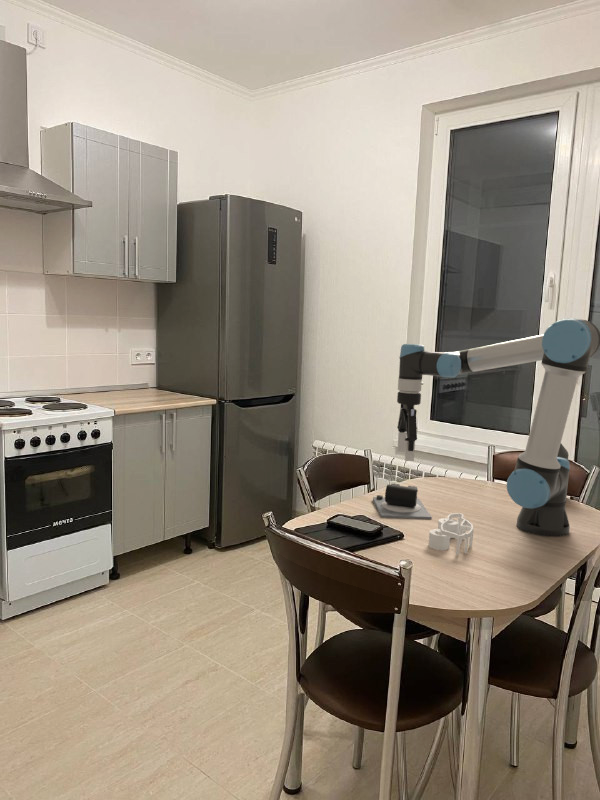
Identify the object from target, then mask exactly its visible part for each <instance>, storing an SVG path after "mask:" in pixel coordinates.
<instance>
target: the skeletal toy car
mask: <svg viewBox="0 0 600 800" xmlns="http://www.w3.org/2000/svg"><path fill="white" fill-rule="evenodd" d="M454 518H457V519H454ZM437 523H438V524H437V525H438V526H437V528H432V529H430V530H429V533H428V534H429V535H428V548H430V549H432V548H433V549H432V550H435V549H436V550H437V551H447V549H448V550H449V549H450V545H451V544H450V542H451V539H456V547H455V548H456V551H455V556H456V555H460V550H461V549H460V546H462V540H463V541H464V550H463V553H464V554H466V553H467V554H468V550H469V549H468V547H469V548H473V537H474V528H475V527H474V524H473V523H471V522H470V521H469V520H468V519H466V518H464V514H463V513H461V512H453V513H450V514H448V515H447V516H446V517H445V518H443V517H442V518H439V519H438V522H437ZM467 531H468V532H467Z"/></svg>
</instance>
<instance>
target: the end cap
mask: <svg viewBox="0 0 600 800" xmlns="http://www.w3.org/2000/svg"><path fill="white" fill-rule="evenodd" d="M418 491H419V490H418V487H417V486H415V485H407V486H403V485H400V484H399V483H391V484H387V485H386V488H385V493H384V497H385V502H386V503H387V504H390V505H397V506H405V507H412V508H415V506H416V502H417V499H418Z"/></svg>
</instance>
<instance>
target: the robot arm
mask: <svg viewBox="0 0 600 800" xmlns="http://www.w3.org/2000/svg"><path fill="white" fill-rule="evenodd" d="M599 349H600V328H598V327H597V325H595V324H594V323H593V322H592V321H589V320H586V319H581V318H579V319H578V318H570V317H567V318H562V319H559V320H557V321H555V322H552V323H551V324H550V325H549V326H548V327H547V328H546V330H545V331H544V332H543V334H540V335H534V336H529V337H525V338H519V339H514V340H509V341H508V340H507V341H504V342H498V343H494V344H490V345H483V346H480V347H474V348H469V349H463V350H457V351H448V352H447V351H445V352H444V351H443V352H442V351H440V352H439V351H427V350H425V345H424V344H417V343H416V344H415V343H404V344H402V345H401V347H400V353H399V354H400V355H399V357H398V358H399V369H398V370H399V371H398V381H397V390H398V392H397V396H396V397H397V398H396V399H397V400H396V402H397V404H400V410H399V414H398V415H399V416H398V422H397V431H398V433H397V434H398V435H397V450H396V451H397V452H401V453H402V452H404V461H407V462H409V461H410V462H414V461H415V448H416V441H417V440H418V429H417V427H418V426H417V412H418V411H417V409H415V407H414V406H419V405H420V404H421V402H422V401H421V400H422V393H421V391H422V386H423V385H424V382H423V376H431V377H432V376H433V377H441V378H455V377H458V376H461V375H466V374H471V373H473V372H474V373H475V372H481V371H486V370H491V369H499V368H503V367H511V366H516V365H522V364H527V363H533V362H538V361H541V366H542V367H543V368H544V375H543V379H542V383H541V386H540V391H539V395H538V398H537V403H536V406H535V410H534V414H533V419H532V422H531V427H530V430H529V431H530V432H529V434H528V439H527V443H526V446H525V450H524V451H523V452H521V453H519V454H518V456H517V459H516V464H515V467H514V470H513V471H512V472H511V473H510V475H509V476H508V478H507V480H506V490H507V494H508V496H509V497H510V498H511V500H512V501H513V502H514V504H516V505H518V506H520V507H521V509H520V511H519V513H518V515H517V519H516V527H517V528H518V529H520V530H521V531H523V532H526V533H528V534H532V535H535V536H540V537H541V536H542V537H553V538H554V537H555V538H557V537H560V538H561V537H566V536H567V535H568V536H569V534H570V523H569V518H568V514H567V513H568V512H567V509H566V505H567V504H566V503H567V495H568V486H569V485H568V484H569V479H570V478H569V476H570V471H571V468H570V461H569V459H568V460H567V459H565V458H561V457H557V455H558V452H559V448H560V444H562V440H563V436H564V432H565V429H566V424H567V421H568V417H569V413H570V409H571V406H572V402H573V398H574V393H575V391H576V386H577V382H578V379H579V377H581V376H582V375H584V374H585V373H586V372H587V368H588V364H589V362H590V358H592V357H593V356H594V355H595V354H597V352H598V351H599Z"/></svg>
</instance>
